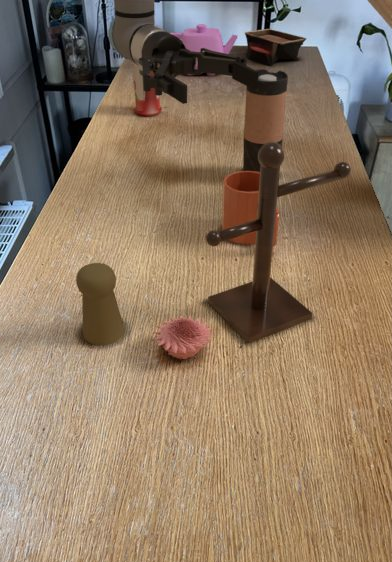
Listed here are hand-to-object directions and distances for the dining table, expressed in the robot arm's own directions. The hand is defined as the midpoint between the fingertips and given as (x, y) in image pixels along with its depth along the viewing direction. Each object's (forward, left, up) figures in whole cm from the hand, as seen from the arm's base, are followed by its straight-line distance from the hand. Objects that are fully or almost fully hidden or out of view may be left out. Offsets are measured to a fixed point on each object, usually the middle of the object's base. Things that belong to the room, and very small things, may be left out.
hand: (221, 87), depth 95 cm
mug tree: (-12, +27, -23) cm, 37 cm away
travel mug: (-6, -16, -23) cm, 29 cm away
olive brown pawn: (+10, +38, -23) cm, 45 cm away
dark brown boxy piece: (0, -99, -23) cm, 102 cm away
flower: (-2, +40, -23) cm, 46 cm away
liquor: (+26, -47, -23) cm, 59 cm away
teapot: (+19, -83, -23) cm, 89 cm away
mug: (-7, +8, -23) cm, 25 cm away
